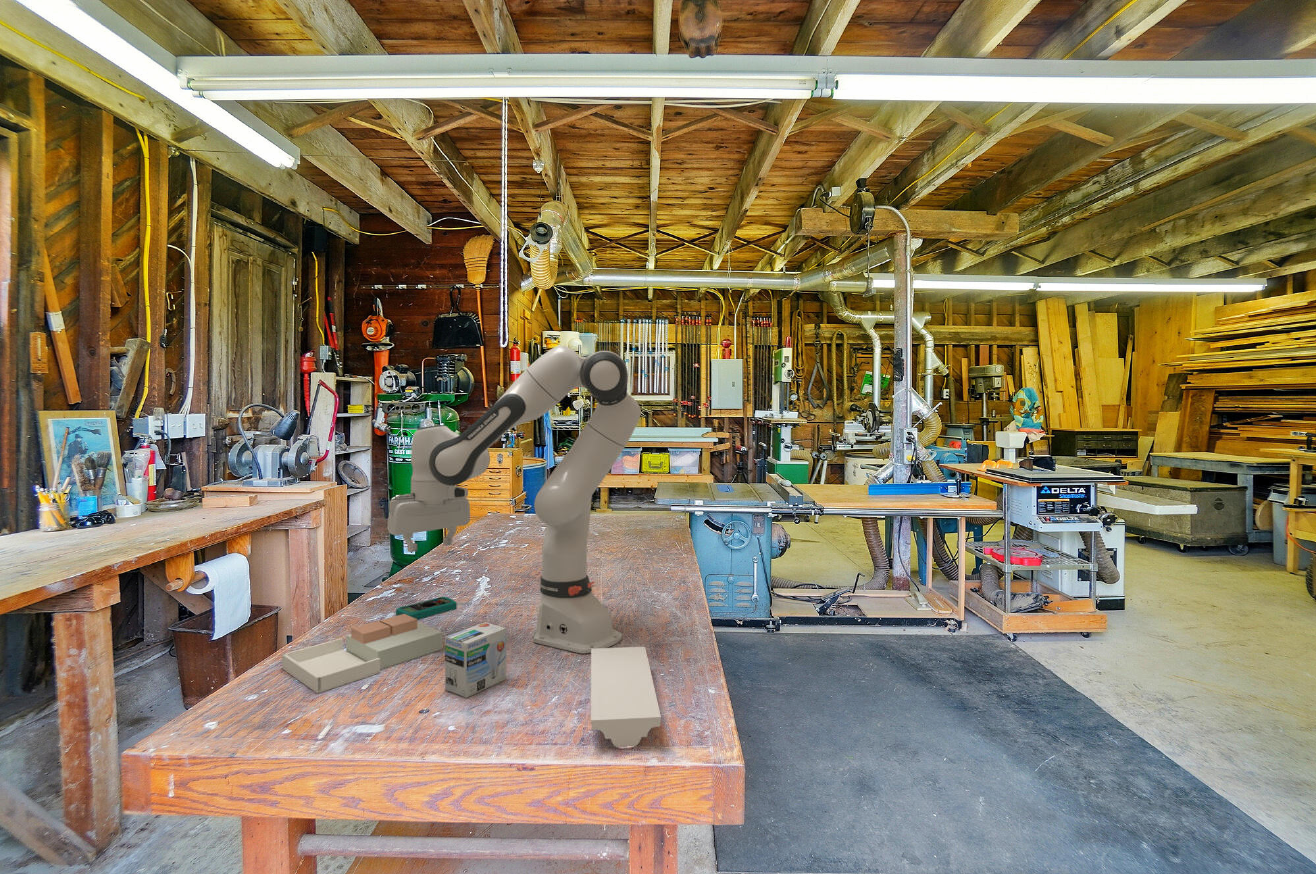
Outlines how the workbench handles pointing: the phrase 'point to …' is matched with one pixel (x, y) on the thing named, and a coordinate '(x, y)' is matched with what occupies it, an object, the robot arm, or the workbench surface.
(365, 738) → the workbench surface
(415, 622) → the tile
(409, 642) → the board
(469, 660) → the light bulb box
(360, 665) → the tray
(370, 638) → the tile
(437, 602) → the digital multimeter
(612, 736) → the beige molded block
